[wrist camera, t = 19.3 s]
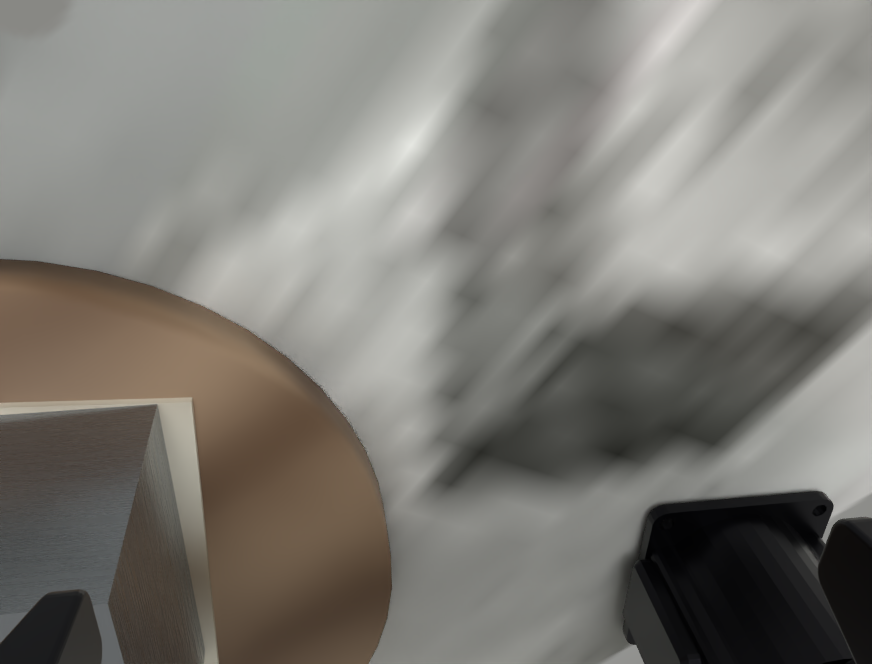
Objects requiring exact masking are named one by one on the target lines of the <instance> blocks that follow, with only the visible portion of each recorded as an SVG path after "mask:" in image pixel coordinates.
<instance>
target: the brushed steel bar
mask: <svg viewBox="0 0 872 664" xmlns="http://www.w3.org/2000/svg"><path fill="white" fill-rule="evenodd" d="M76 589H82V590H85V591H87V593H88V594H89V596H90V598H91V601H92V605H93V609H94V613H95V616H96V620H97V624H98V627H99V631H100V635H101V639H102V662H101V664H204V657H205V647H204V642H203V637H202V632H201V627H200V622H199V616H198V611H197V606H196V601H195V596H194V591H193V585H192V580H191V575H190V570H189V565H188V559H187V554H186V549H185V544H184V539H183V534H182V528H181V523H180V518H179V513H178V508H177V503H176V497H175V492H174V487H173V482H172V477H171V472H170V466H169V461H168V456H167V451H166V446H165V440H164V435H163V430H162V425H161V420H160V415H159V409H158V404H151V405H136V406H122V407H108V408H94V409H79V410H65V411H51V412H36V413H22V414H8V415H0V643H1V642H2V641H3V640H4V638H5V637H6V636H7V635H8V634H9V633H10V632H11V631H12V630H13V629H14V627H15V626H16V625H17V624H18V623H19V622H20V621H21V620H22V619H23V617H24V616H25V615H26V614H27V613H28V612H29V611H30V610H31V609H32V608H33V606H34V605H35V604H36V603H37V602H38V601H39V600H40V599H41V598H42V597H43V596H44V595H46V594H47V593H50V592H54V591H65V590H76Z"/></svg>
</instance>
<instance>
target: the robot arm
mask: <svg viewBox="0 0 872 664" xmlns="http://www.w3.org/2000/svg"><path fill="white" fill-rule="evenodd" d="M833 506H834V505H833V503H832V501H831V500H830V499H829V498H828V496H827V495H826V494H825V493H823V492H818V491H816V492H804V493H793V494H781V495H770V496H758V497H747V498H735V499H724V500H712V501H701V502H689V503H678V504H666V505H661V506H658V507H656V508H654V509H653V510H652V511H651V512H650V514H649V516H648V519H647V523H646V527H645V532H644V536H643V541H642V545H641V550H640V554H639V558H638V560H637V562H636V563H635V565H634V566H633V570H632V574H631V579H630V583H629V588H628V592H627V597H626V601H625V606H624V610H623V615H624V618H625V621H624V625H623V633H624V635H625V637H626V640H627V641H628V642H629V643H630V644H633V645H637V648H638V650H639V652H640V654H641V657H642V659H643V661H644V664H872V518H868V517H858V518H847V519H841V520H838V521H837V522H836V523H835V524H834V525H833V527H832V529H831V532H830V535H829V537H828V539H827V542H826V544H825V543H824V542H823V541H822V537H823V534H824V531H825V529H826V526H827V524H828V521H829V518H830V516H831V513H832V511H833ZM665 519H666V520H665ZM663 520H665V521H663ZM101 662H102V639H101V635H100V631H99V627H98V624H97V620H96V616H95V613H94V609H93V605H92V601H91V598H90V596H89V594H88V593H87V591H85V590H82V589H76V590H65V591H54V592H50V593H47V594H46V595H44V596H43V597H42V598H41V599H40V600H39V601H38V602H37V603H36V604H35V605H34V606H33V608H32V609H31V610H30V611H29V612H28V613H27V614H26V615H25V616H24V617H23V619H22V620H21V621H20V622H19V623H18V624H17V625H16V626H15V627H14V629H13V630H12V631H11V632H10V633H9V634H8V635H7V636H6V637H5V638H4V640H3V641H2V642H1V643H0V664H101Z"/></svg>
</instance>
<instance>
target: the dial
mask: <svg viewBox="0 0 872 664" xmlns="http://www.w3.org/2000/svg"><path fill="white" fill-rule="evenodd" d="M151 404H158V409H159V415H160V420H161V425H162V430H163V435H164V440H165V446H166V451H167V456H168V461H169V466H170V472H171V477H172V482H173V487H174V492H175V497H176V503H177V508H178V513H179V518H180V523H181V528H182V534H183V539H184V544H185V549H186V554H187V559H188V565H189V570H190V575H191V580H192V585H193V591H194V596H195V601H196V606H197V611H198V616H199V622H200V627H201V632H202V637H203V642H204V647H205V657H204V664H368V663H369V661H370V659H371V657H372V656H373V654H374V652H375V650H376V648H377V646H378V643H379V640H380V637H381V635H382V632H383V629H384V626H385V623H386V620H387V616H388V609H389V603H390V596H391V590H392V580H391V555H390V547H389V540H388V533H387V526H386V519H385V512H384V508H383V503H382V498H381V494H380V489H379V484H378V481H377V478H376V476H375V473H374V471H373V468H372V466H371V463H370V461H369V459H368V456H367V454H366V451H365V449H364V447H363V446H362V444H361V443H360V441H359V439H358V438H357V436H356V434H355V433H354V431H353V429H352V428H351V426H350V424H349V423H348V421H347V420H346V418H345V417H344V416H343V414H342V413H341V412H340V411H339V410H338V408H337V407H336V406H335V405H334V404H333V402H332V401H331V400H330V399H329V398H328V396H327V395H326V394H325V393H324V392H323V390H322V389H321V388H320V387H319V386H318V385H317V384H316V383H315V382H313V381H312V380H311V379H310V378H309V377H308V376H307V375H306V374H305V373H304V372H302V371H301V370H300V369H299V368H298V367H297V366H296V365H295V364H294V363H292V362H291V361H290V360H289V359H288V358H287V357H285V356H284V355H283V354H281V353H280V352H278V351H277V350H275V349H274V348H273V347H271V346H270V345H268V344H267V343H265V342H264V341H262V340H261V339H260V338H258V337H257V336H255V335H254V334H252V333H251V332H250V331H248V330H246V329H244V328H242V327H241V326H239V325H237V324H235V323H233V322H231V321H229V320H227V319H226V318H224V317H222V316H220V315H218V314H216V313H214V312H212V311H210V310H209V309H207V308H205V307H203V306H201V305H198V304H196V303H193V302H190V301H188V300H185V299H183V298H180V297H178V296H175V295H173V294H170V293H168V292H165V291H163V290H160V289H158V288H155V287H152V286H149V285H146V284H142V283H138V282H135V281H131V280H127V279H124V278H120V277H116V276H113V275H109V274H106V273H102V272H98V271H94V270H88V269H81V268H75V267H69V266H63V265H57V264H51V263H44V262H38V261H22V260H4V259H0V415H8V414H22V413H36V412H51V411H65V410H79V409H94V408H108V407H122V406H136V405H151Z"/></svg>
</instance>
